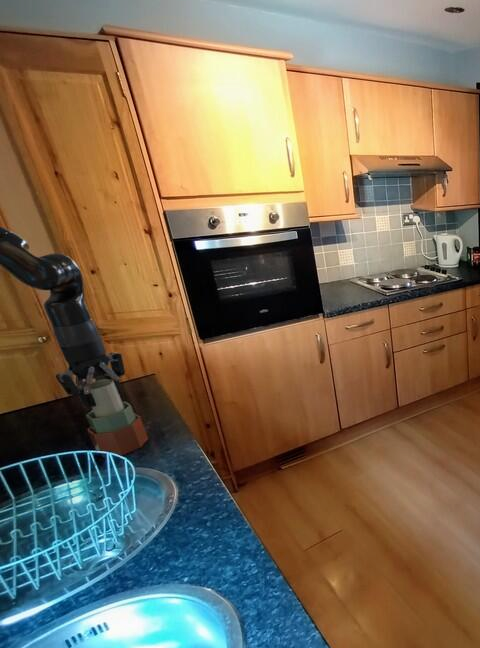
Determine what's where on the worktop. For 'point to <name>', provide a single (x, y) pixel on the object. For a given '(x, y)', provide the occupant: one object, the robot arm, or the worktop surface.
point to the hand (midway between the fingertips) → (104, 399)
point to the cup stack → (117, 431)
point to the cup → (105, 398)
